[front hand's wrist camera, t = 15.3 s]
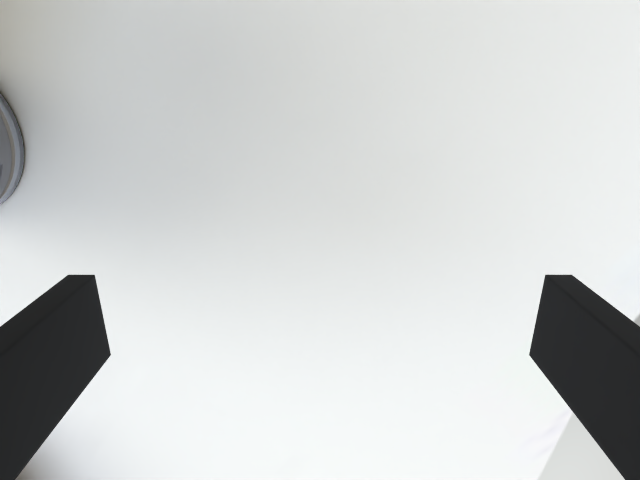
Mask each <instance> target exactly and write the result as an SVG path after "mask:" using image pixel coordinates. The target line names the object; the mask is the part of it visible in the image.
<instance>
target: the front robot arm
mask: <svg viewBox="0 0 640 480" xmlns="http://www.w3.org/2000/svg"><path fill="white" fill-rule="evenodd" d="M23 164H24V146H23V140H22V135H21V132H20V128H19V125H18V123H17V120H16V118H15V116H14V114H13V112H12V110H11V108H10V106H9V104H8V103H7V101H6V100H5V98H4V97H3V96H2V94H1V93H0V204H2V203H3V202H4V201H5V200H7V199H8V198H9V196H10V195H11V194H12V193H13V191H14V190H15V188H16V187H17V185H18V183H19V180H20V178H21V174H22V170H23ZM110 355H111V354H110V349H109V344H108V339H107V334H106V329H105V324H104V319H103V314H102V309H101V304H100V299H99V294H98V289H97V284H96V279H95V275H68V276H66V277H65V278H64V279H62V280H61V281H60V282H58V283H57V284H56V285H54V286H53V287H52V288H50V289H49V290H48V291H47V292H45V293H44V294H43V295H41V296H40V297H39V298H37V299H36V300H35V301H33V302H32V303H31V304H30V305H28V306H27V307H26V308H24V309H23V310H22V311H20V312H19V313H18V314H16V315H15V316H14V317H13V318H11V319H10V320H9V321H7V322H6V323H5V324H3V325H2V326H1V327H0V480H15V479H16V477H17V476H18V475H19V474H20V472H21V471H22V470H23V468H24V467H25V466H26V464H27V463H28V462H29V461H30V459H31V458H32V457H33V455H34V454H35V453H36V451H37V450H38V449H39V448H40V446H41V445H42V444H43V442H44V441H45V440H46V438H47V437H48V436H49V435H50V433H51V432H52V431H53V429H54V428H55V427H56V425H57V424H58V423H59V422H60V420H61V419H62V418H63V416H64V415H65V414H66V412H67V411H68V410H69V408H70V407H71V406H72V405H73V403H74V402H75V401H76V399H77V398H78V397H79V395H80V394H81V393H82V392H83V390H84V389H85V388H86V386H87V385H88V384H89V382H90V381H91V380H92V379H93V377H94V376H95V375H96V373H97V372H98V371H99V369H100V368H101V367H102V366H103V364H104V363H105V362H106V360H107V359H108V358H109V356H110ZM529 355H530V356H531V358H532V359H533V360H534V362H535V363H536V364H537V366H538V367H539V368H540V369H541V371H542V372H543V373H544V375H545V376H546V377H547V379H548V380H549V381H550V382H551V384H552V385H553V386H554V388H555V389H556V390H557V392H558V393H559V394H560V395H561V397H562V398H563V399H564V401H565V402H566V403H567V405H568V406H569V407H570V409H571V410H572V411H573V412H574V414H575V415H576V416H577V418H578V419H579V420H580V422H581V423H582V424H583V425H584V427H585V428H586V429H587V431H588V432H589V433H590V435H591V436H592V437H593V438H594V440H595V441H596V442H597V444H598V445H599V446H600V448H601V449H602V450H603V451H604V453H605V454H606V455H607V457H608V458H609V459H610V461H611V462H612V463H613V464H614V466H615V467H616V468H617V470H618V471H619V472H620V473H621V475H622V476H623V477H624V479H625V480H640V327H639V326H638V325H637V324H635V323H634V322H633V321H631V320H630V319H629V318H627V317H626V316H625V315H624V314H622V313H621V312H620V311H618V310H617V309H616V308H614V307H613V306H612V305H610V304H609V303H608V302H607V301H605V300H604V299H603V298H601V297H600V296H599V295H597V294H596V293H595V292H593V291H592V290H591V289H590V288H588V287H587V286H586V285H584V284H583V283H582V282H580V281H579V280H578V279H576V278H575V277H574V276H572V275H545V279H544V284H543V289H542V294H541V299H540V304H539V309H538V314H537V319H536V324H535V329H534V334H533V339H532V344H531V349H530V354H529Z"/></svg>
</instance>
